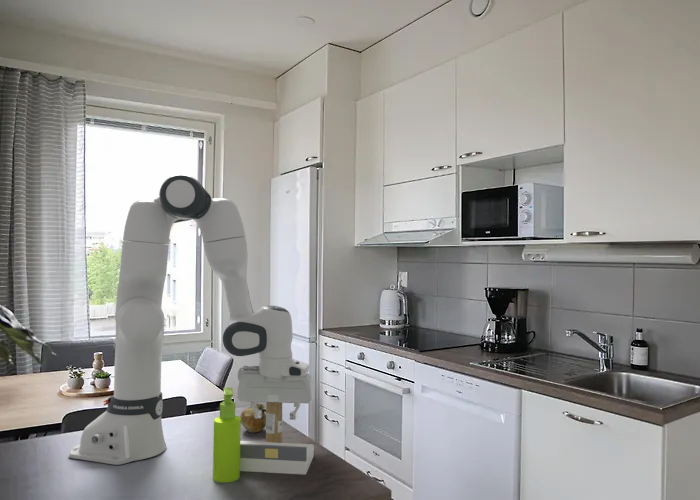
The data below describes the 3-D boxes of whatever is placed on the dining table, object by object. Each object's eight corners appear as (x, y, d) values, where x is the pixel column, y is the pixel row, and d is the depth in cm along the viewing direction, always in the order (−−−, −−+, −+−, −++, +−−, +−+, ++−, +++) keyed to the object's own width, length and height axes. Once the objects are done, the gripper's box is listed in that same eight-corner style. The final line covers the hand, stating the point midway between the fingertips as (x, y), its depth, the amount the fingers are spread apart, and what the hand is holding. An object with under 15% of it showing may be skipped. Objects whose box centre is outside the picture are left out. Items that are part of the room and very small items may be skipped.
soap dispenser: (213, 486, 114) (215, 393, 114) (212, 473, 120) (214, 385, 121) (241, 483, 115) (242, 391, 116) (238, 470, 122) (240, 384, 122)
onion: (257, 424, 155) (257, 397, 155) (272, 431, 149) (273, 403, 150) (234, 430, 150) (235, 402, 150) (250, 437, 144) (250, 408, 144)
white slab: (220, 470, 122) (220, 444, 122) (235, 452, 133) (236, 428, 133) (305, 475, 120) (305, 448, 120) (313, 456, 131) (314, 432, 131)
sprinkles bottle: (285, 444, 139) (286, 393, 140) (269, 447, 137) (270, 396, 137) (277, 439, 143) (278, 389, 143) (262, 442, 141) (263, 392, 141)
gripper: (234, 368, 138) (233, 421, 138) (311, 370, 136) (310, 423, 136) (241, 363, 144) (241, 413, 144) (314, 365, 143) (314, 416, 142)
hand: (275, 418), depth 140 cm, fingers open, 8 cm apart
